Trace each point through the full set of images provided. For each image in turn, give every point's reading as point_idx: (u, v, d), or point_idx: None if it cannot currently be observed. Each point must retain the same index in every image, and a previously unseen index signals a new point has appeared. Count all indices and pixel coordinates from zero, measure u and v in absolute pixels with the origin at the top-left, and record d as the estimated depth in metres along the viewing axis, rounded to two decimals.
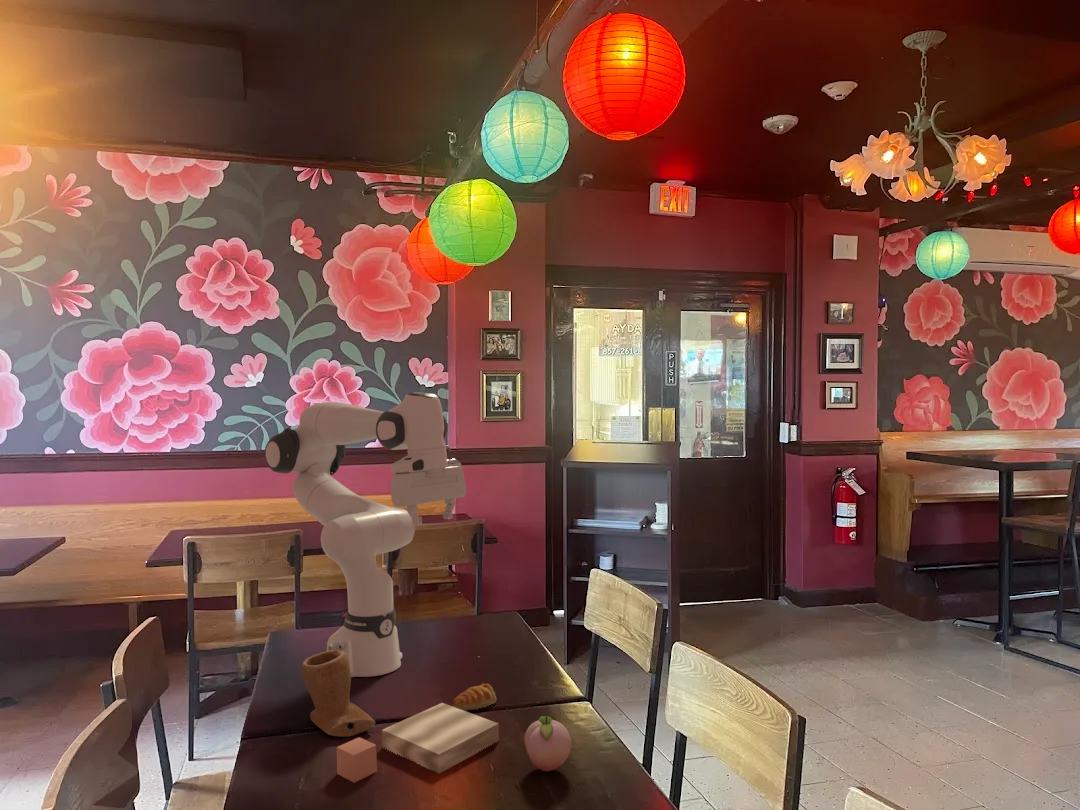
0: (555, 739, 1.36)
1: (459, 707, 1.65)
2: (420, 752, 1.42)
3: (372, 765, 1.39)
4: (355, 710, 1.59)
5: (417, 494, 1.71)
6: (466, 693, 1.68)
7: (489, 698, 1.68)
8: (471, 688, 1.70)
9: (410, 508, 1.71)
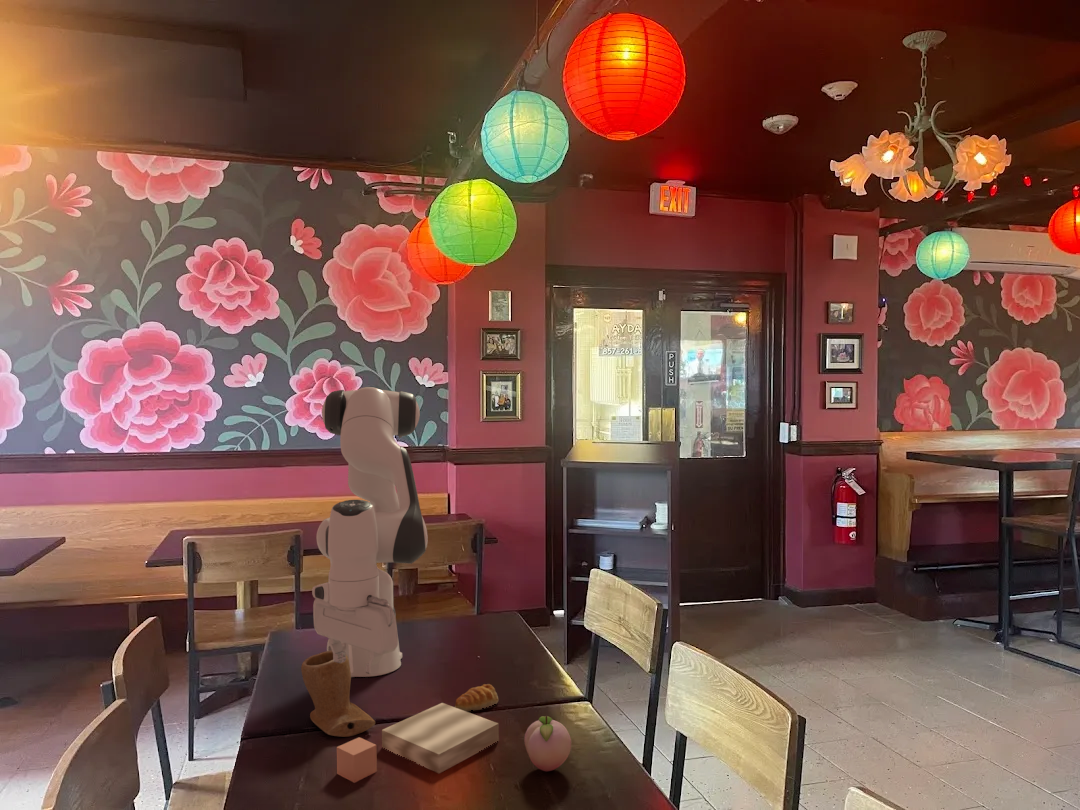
0: (555, 739, 1.36)
1: (462, 707, 1.65)
2: (420, 752, 1.42)
3: (372, 765, 1.39)
4: (355, 710, 1.59)
5: (328, 626, 1.41)
6: (468, 694, 1.68)
7: (491, 699, 1.67)
8: (473, 689, 1.69)
9: None
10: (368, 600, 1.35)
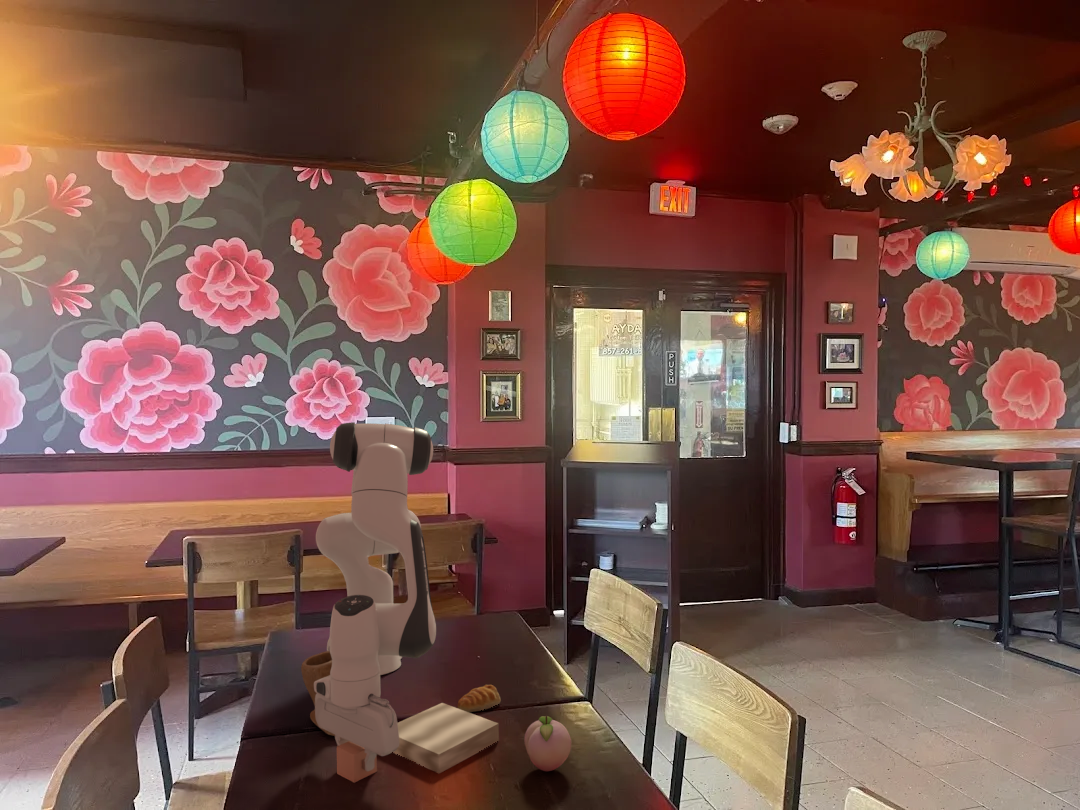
0: (555, 739, 1.36)
1: (465, 708, 1.64)
2: (420, 752, 1.42)
3: None
4: None
5: (329, 721, 1.42)
6: (470, 694, 1.67)
7: (493, 699, 1.67)
8: (475, 689, 1.69)
9: None
10: (369, 699, 1.36)
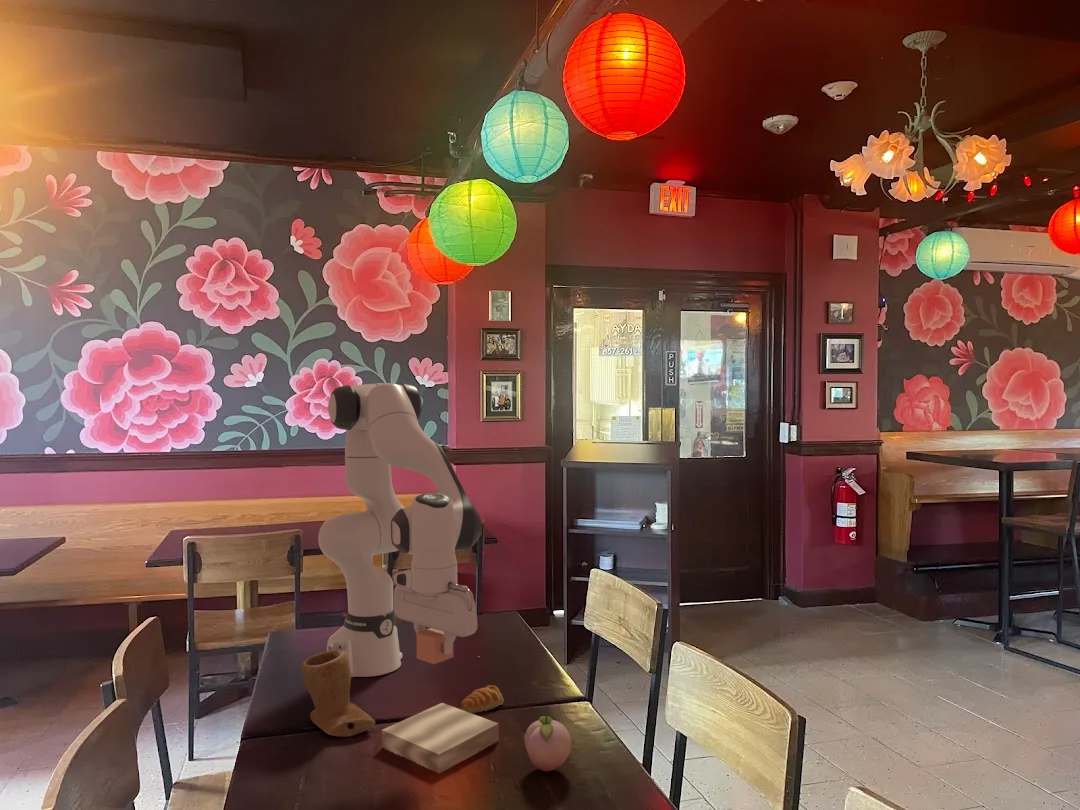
0: (555, 739, 1.36)
1: (468, 709, 1.64)
2: (420, 752, 1.42)
3: None
4: (355, 710, 1.59)
5: (408, 610, 1.51)
6: (473, 695, 1.67)
7: (496, 700, 1.67)
8: (478, 690, 1.69)
9: None
10: (449, 586, 1.46)
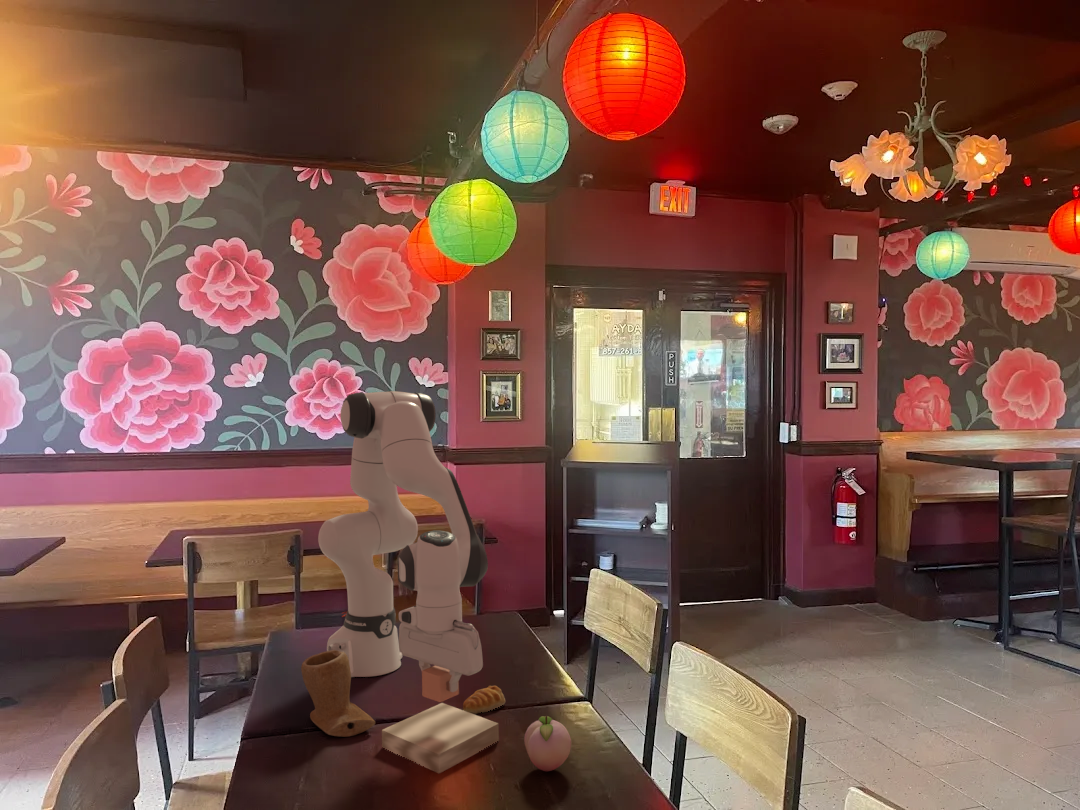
0: (555, 739, 1.36)
1: (470, 710, 1.64)
2: (420, 752, 1.42)
3: None
4: (355, 710, 1.59)
5: (414, 648, 1.52)
6: (475, 696, 1.66)
7: (498, 700, 1.67)
8: (479, 691, 1.68)
9: None
10: (454, 624, 1.46)
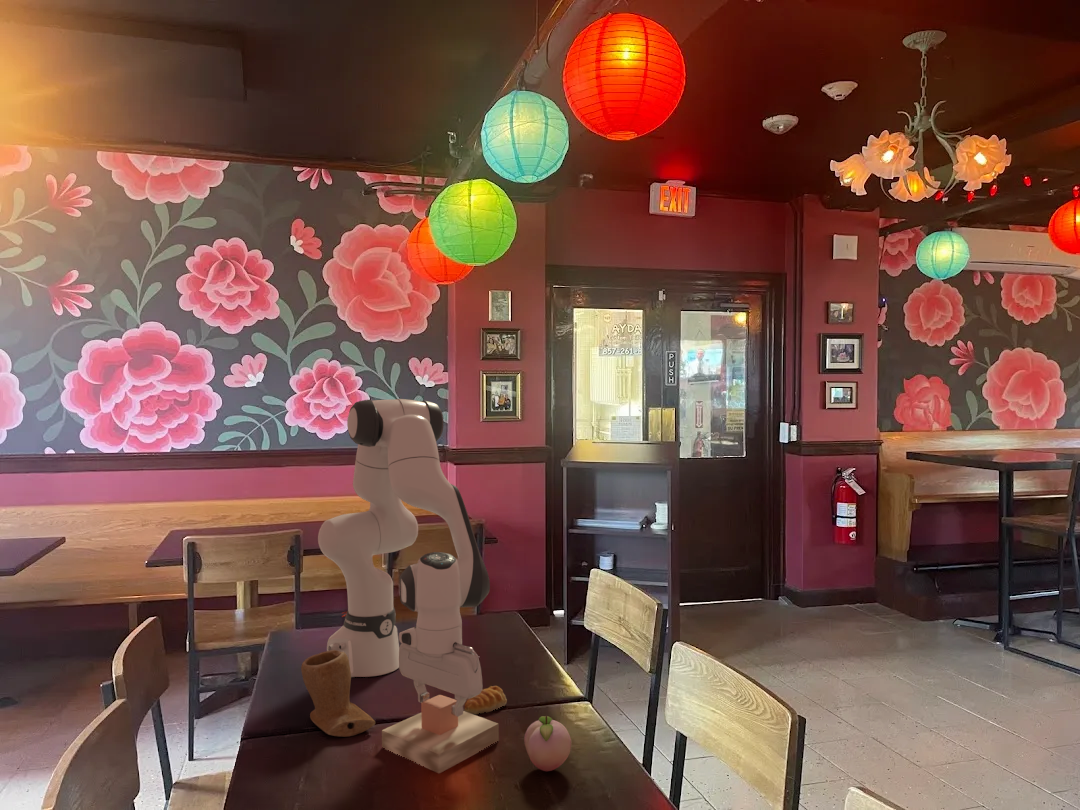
0: (555, 739, 1.36)
1: (472, 710, 1.63)
2: (420, 752, 1.42)
3: (454, 719, 1.50)
4: (355, 710, 1.59)
5: (413, 669, 1.52)
6: (477, 696, 1.66)
7: (500, 700, 1.67)
8: (481, 691, 1.68)
9: None
10: (454, 647, 1.46)
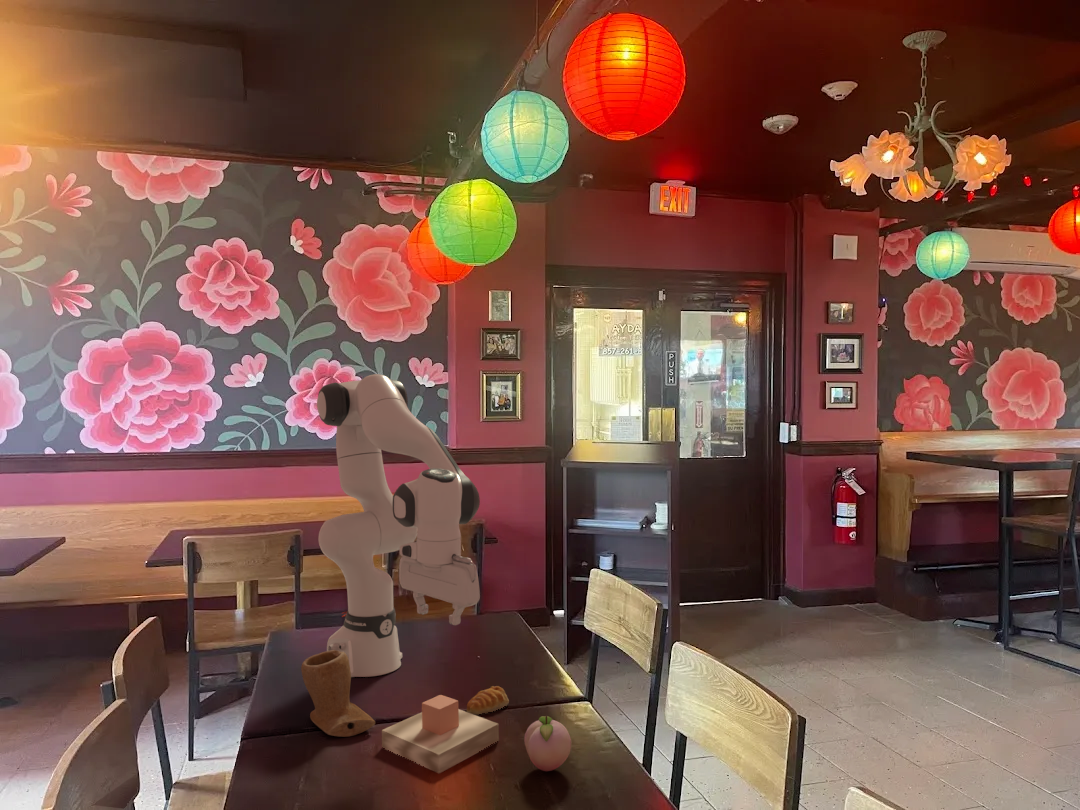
0: (555, 739, 1.36)
1: (475, 711, 1.63)
2: (420, 752, 1.42)
3: (455, 719, 1.50)
4: (355, 710, 1.59)
5: (413, 581, 1.57)
6: (479, 697, 1.66)
7: (502, 701, 1.66)
8: (483, 691, 1.68)
9: None
10: (453, 558, 1.51)
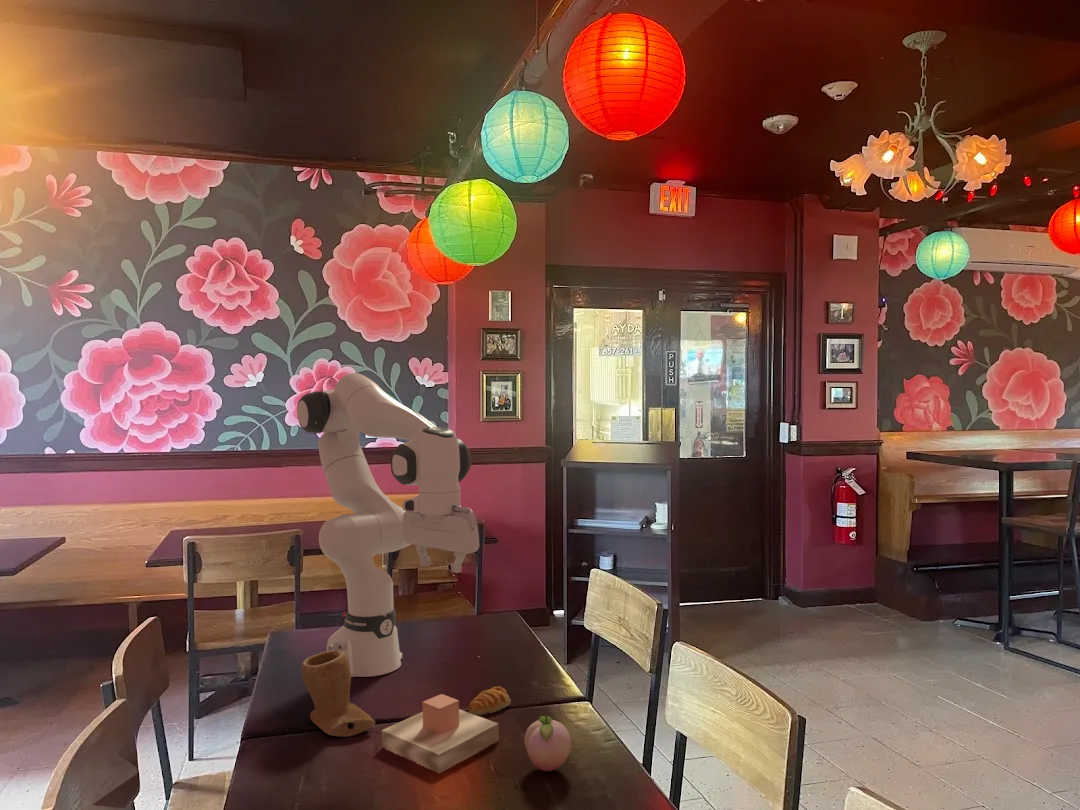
0: (555, 739, 1.36)
1: (477, 711, 1.63)
2: (420, 752, 1.42)
3: (455, 719, 1.50)
4: (355, 710, 1.59)
5: (416, 534, 1.65)
6: (481, 697, 1.66)
7: (504, 701, 1.66)
8: (484, 692, 1.68)
9: None
10: (453, 509, 1.60)
